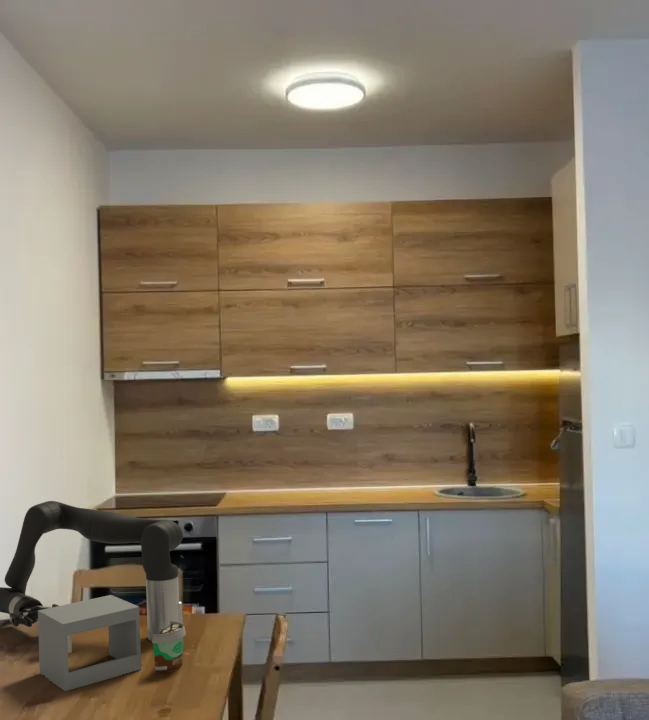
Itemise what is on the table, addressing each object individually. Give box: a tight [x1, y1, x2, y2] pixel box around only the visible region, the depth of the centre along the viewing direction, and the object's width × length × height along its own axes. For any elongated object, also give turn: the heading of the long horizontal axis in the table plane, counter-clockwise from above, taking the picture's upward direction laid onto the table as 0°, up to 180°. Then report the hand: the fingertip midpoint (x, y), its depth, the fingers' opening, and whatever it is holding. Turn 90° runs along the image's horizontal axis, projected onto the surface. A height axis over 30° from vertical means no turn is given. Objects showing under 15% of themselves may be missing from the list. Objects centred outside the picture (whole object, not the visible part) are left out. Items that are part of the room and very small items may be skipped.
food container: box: [151, 621, 187, 674], centre depth 201 cm, size 12×6×10 cm, turn 168°
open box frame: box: [37, 594, 142, 692], centre depth 200 cm, size 20×17×16 cm
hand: (45, 619), depth 223 cm, fingers open, 8 cm apart
